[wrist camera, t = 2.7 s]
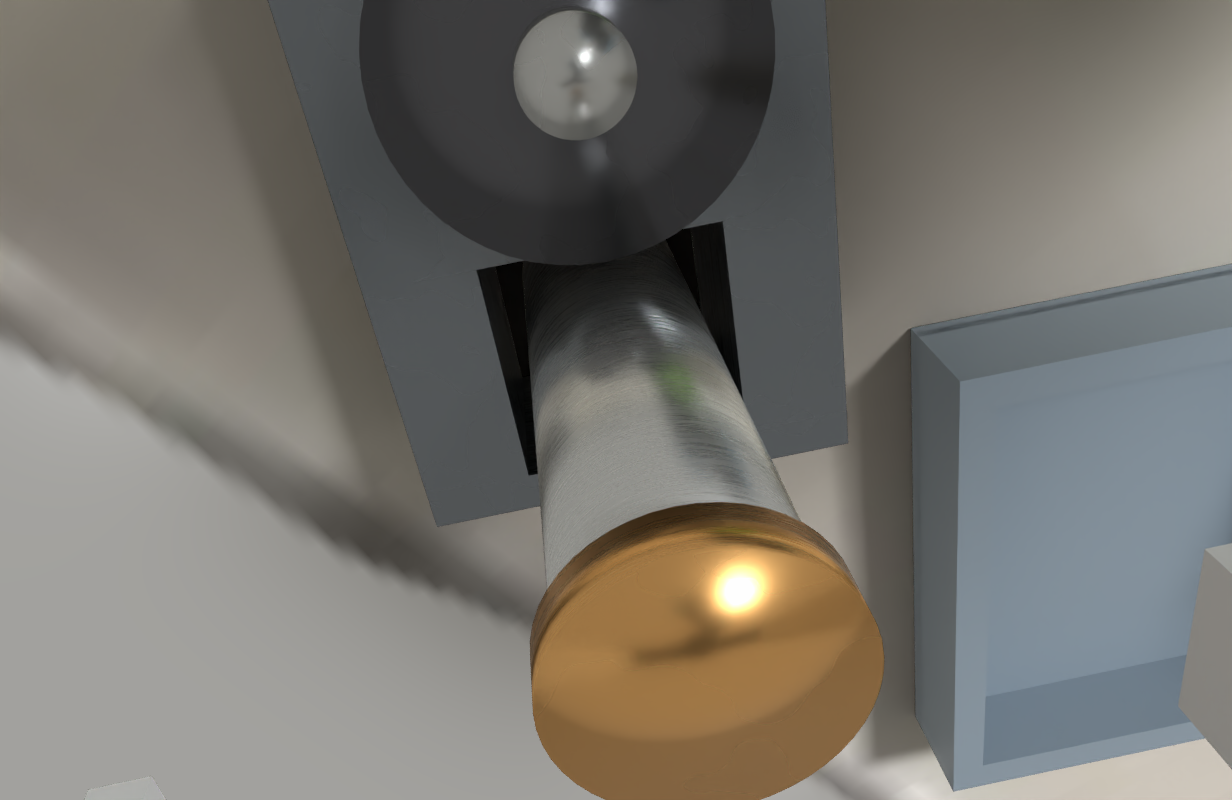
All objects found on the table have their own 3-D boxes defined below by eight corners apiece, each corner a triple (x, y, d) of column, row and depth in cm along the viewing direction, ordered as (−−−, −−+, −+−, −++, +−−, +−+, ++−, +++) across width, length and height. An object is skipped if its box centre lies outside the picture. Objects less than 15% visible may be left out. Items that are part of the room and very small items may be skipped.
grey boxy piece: (279, -139, 20) (172, -146, 13) (743, -227, 20) (869, -278, 14) (445, 421, 27) (430, 605, 20) (791, 352, 27) (890, 510, 20)
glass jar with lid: (493, 207, 24) (496, 594, 11) (670, 172, 24) (878, 516, 11) (530, 365, 27) (569, 842, 13) (693, 333, 27) (888, 775, 14)
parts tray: (910, 328, 27) (959, 381, 24) (1350, 239, 28) (1450, 282, 25) (915, 716, 35) (953, 791, 32) (1257, 645, 35) (1325, 713, 33)
